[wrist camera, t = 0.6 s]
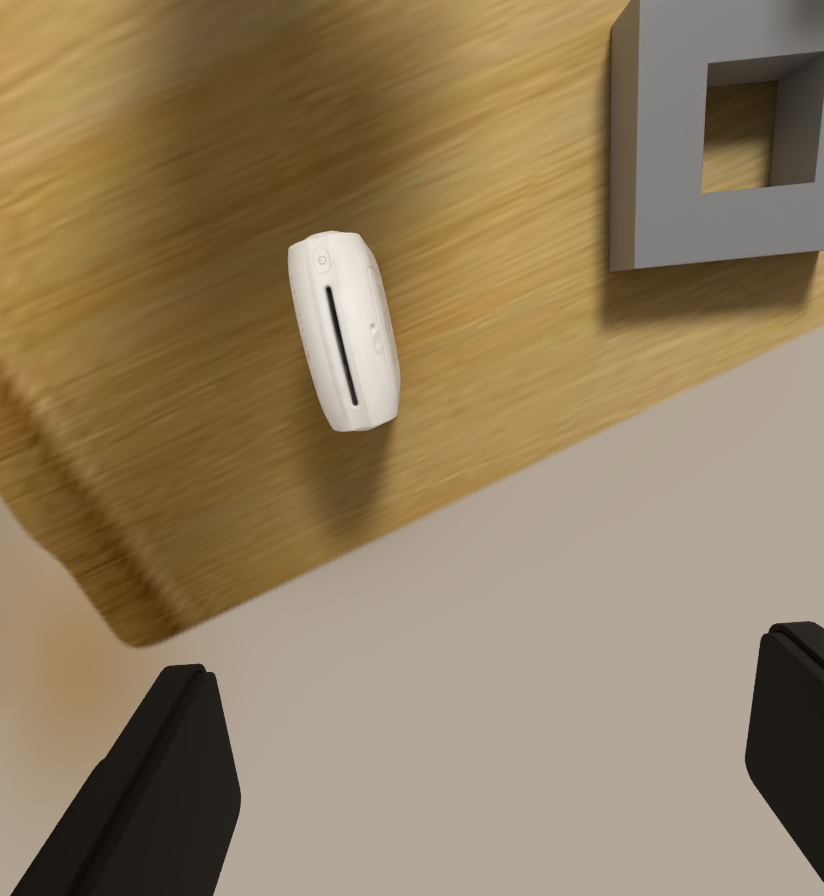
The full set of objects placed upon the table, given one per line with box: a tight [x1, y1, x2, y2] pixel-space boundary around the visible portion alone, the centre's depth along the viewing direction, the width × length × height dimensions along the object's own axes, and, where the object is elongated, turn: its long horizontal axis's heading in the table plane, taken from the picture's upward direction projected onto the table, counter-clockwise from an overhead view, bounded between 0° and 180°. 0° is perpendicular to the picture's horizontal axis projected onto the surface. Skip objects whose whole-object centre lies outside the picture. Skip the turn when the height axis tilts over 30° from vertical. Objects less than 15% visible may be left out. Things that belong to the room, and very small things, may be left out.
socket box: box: [609, 0, 824, 272], centre depth 31 cm, size 14×14×4 cm
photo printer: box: [288, 231, 401, 432], centre depth 30 cm, size 10×4×12 cm, turn 11°
